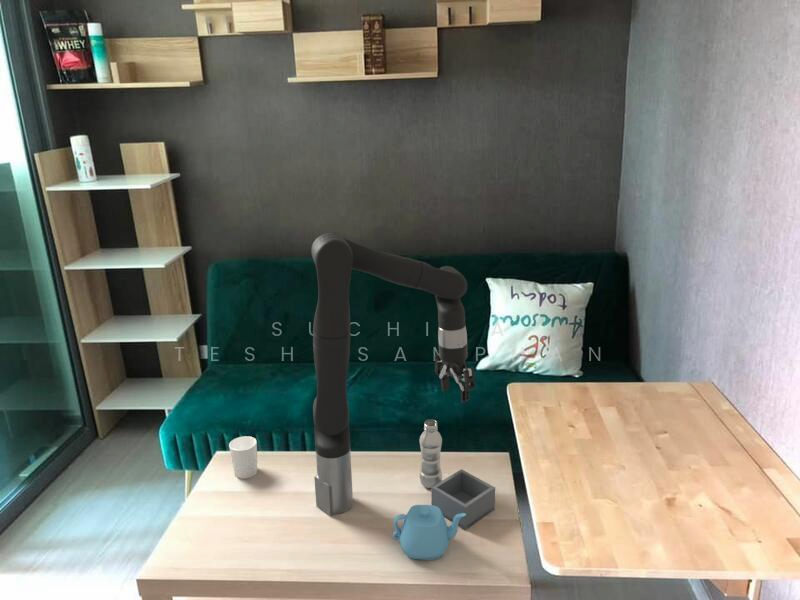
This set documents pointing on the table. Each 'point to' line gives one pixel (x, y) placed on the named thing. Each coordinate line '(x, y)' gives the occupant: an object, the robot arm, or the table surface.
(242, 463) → the white cup
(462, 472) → the gray square open box
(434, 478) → the plastic bottle
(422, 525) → the teapot
